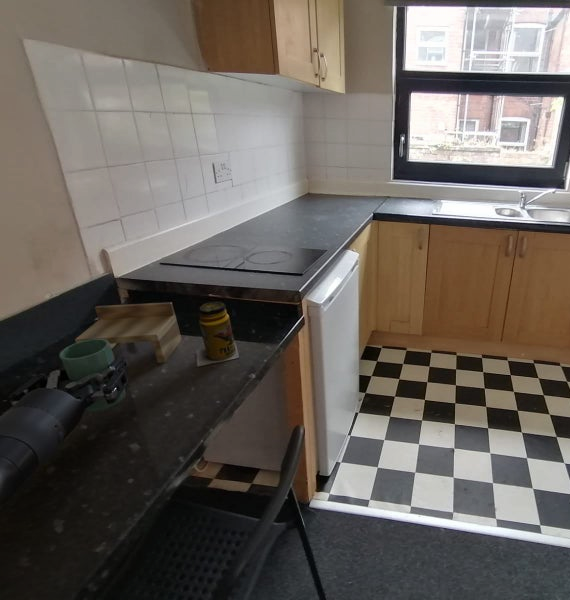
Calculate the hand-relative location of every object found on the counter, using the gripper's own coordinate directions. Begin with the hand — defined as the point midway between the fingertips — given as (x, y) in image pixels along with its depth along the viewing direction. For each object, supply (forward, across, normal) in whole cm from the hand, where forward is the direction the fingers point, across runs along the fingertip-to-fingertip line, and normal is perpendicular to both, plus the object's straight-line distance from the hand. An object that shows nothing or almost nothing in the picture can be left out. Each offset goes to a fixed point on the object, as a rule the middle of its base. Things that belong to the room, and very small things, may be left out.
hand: (100, 361), depth 68 cm
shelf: (+21, +6, +11) cm, 25 cm away
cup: (-2, 0, +6) cm, 6 cm away
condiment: (+18, -12, +11) cm, 25 cm away
